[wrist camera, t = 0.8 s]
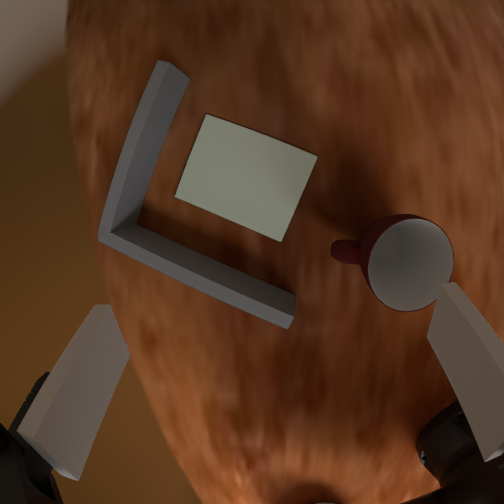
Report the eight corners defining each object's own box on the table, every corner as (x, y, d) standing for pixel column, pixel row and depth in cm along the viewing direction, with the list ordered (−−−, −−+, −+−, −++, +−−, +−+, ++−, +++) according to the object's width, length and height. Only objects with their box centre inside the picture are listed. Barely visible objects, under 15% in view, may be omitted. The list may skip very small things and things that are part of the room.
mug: (329, 283, 35) (338, 320, 26) (324, 211, 34) (333, 223, 24) (417, 274, 33) (451, 306, 24) (415, 204, 32) (454, 214, 22)
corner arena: (363, 143, 31) (376, 136, 26) (290, 306, 37) (287, 329, 31) (179, 76, 32) (158, 60, 27) (123, 230, 38) (96, 239, 32)
